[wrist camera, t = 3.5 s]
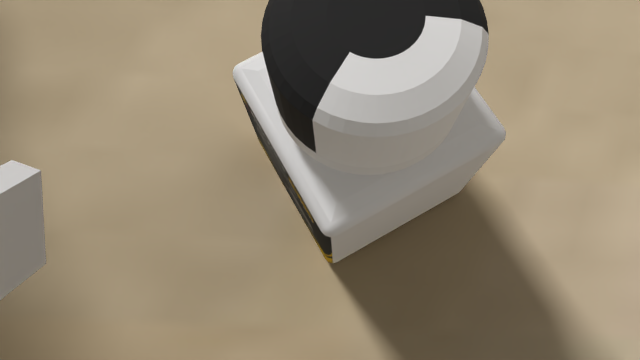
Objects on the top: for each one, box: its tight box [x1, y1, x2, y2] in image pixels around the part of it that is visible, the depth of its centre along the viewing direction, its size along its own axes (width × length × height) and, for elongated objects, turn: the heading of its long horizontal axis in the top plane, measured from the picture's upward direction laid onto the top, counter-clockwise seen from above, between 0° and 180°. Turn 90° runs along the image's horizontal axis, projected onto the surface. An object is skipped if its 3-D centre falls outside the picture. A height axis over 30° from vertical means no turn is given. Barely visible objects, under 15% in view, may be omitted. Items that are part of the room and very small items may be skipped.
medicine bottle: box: [233, 0, 506, 263], centre depth 19 cm, size 7×7×12 cm
